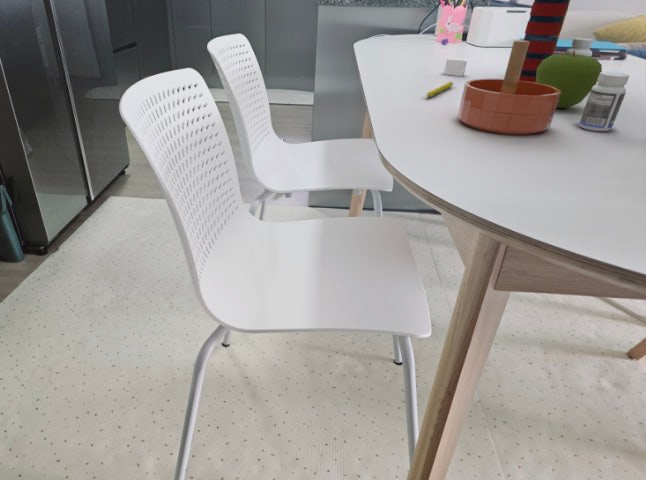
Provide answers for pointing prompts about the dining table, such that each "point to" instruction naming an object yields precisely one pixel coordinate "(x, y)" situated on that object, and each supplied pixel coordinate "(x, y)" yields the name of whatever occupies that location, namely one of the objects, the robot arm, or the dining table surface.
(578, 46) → the supplement bottle
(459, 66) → the eraser
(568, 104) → the apple
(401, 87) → the dining table surface
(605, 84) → the pill bottle
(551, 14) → the red striped curved tube
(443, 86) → the pencil
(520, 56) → the stirring stick
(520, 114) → the bowl
